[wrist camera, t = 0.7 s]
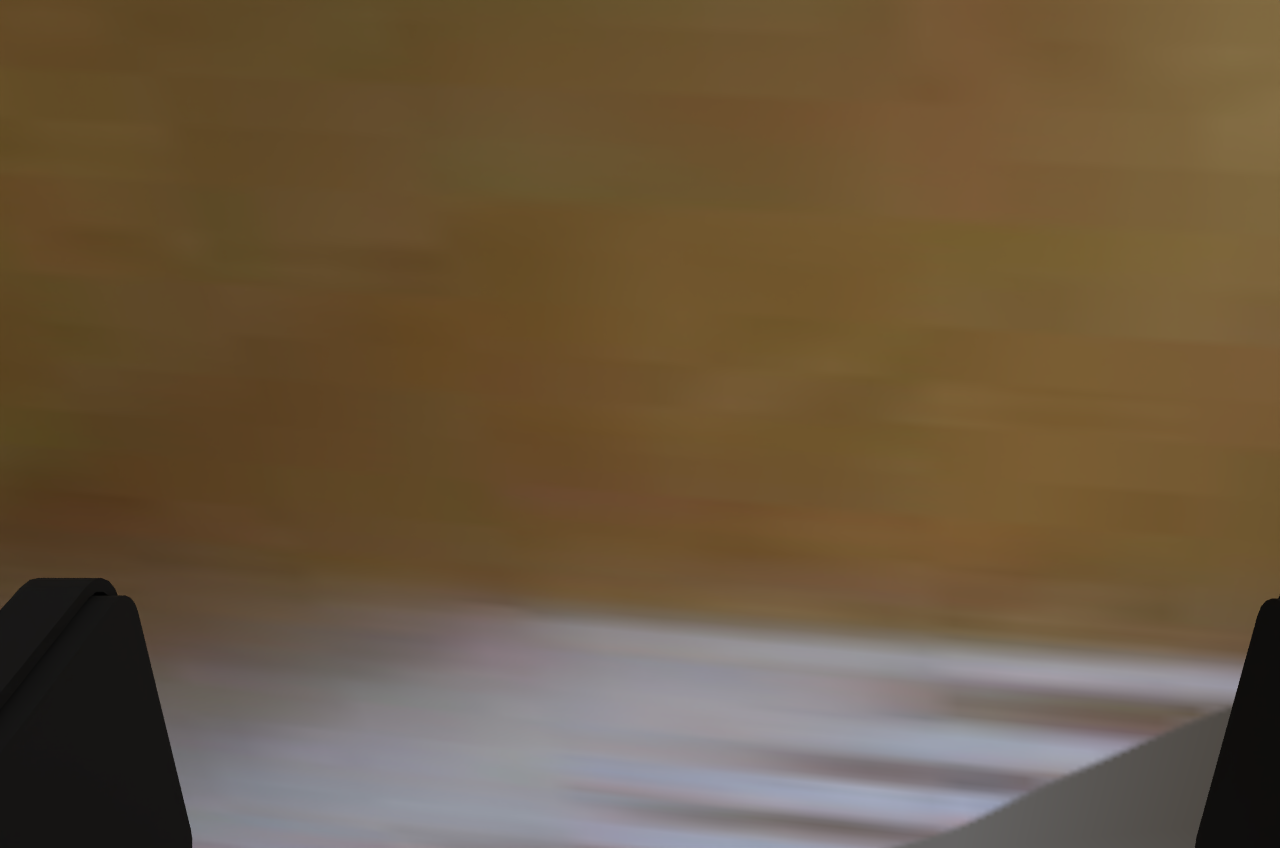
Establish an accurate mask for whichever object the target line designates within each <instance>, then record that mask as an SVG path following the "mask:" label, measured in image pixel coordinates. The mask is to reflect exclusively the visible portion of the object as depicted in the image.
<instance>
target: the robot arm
mask: <svg viewBox="0 0 1280 848" xmlns="http://www.w3.org/2000/svg"><path fill="white" fill-rule="evenodd" d="M0 848H192V834H191V828H190V824H189V820H188V816H187V812H186V808H185V804H184V800H183V795H182V791H181V787H180V783H179V779H178V775H177V771H176V767H175V762H174V758H173V754H172V750H171V746H170V742H169V738H168V734H167V730H166V725H165V721H164V717H163V713H162V709H161V705H160V701H159V697H158V692H157V688H156V684H155V680H154V676H153V672H152V668H151V664H150V659H149V655H148V651H147V647H146V643H145V639H144V635H143V631H142V626H141V622H140V618H139V614H138V611H137V608H136V605H135V603H134V602H133V600H132V599H131V598H130V597H127V596H118V595H117V593H116V590H115V588H114V587H113V586H112V584H111V583H110V582H109V581H107V580H105V579H103V578H37V579H32V580H29V581H28V582H27V583H25V584H24V585H23V586H22V587H21V588H20V589H19V590H18V591H17V592H16V593H15V594H14V595H13V597H12V598H11V599H10V600H9V601H8V602H7V603H6V604H5V605H4V607H3V608H2V609H1V610H0ZM1195 848H1280V596H1279V598H1278V599H1270V600H1267V601H1266V602H1265V603H1264V604H1263V605H1262V606H1261V608H1260V611H1259V613H1258V616H1257V619H1256V623H1255V627H1254V630H1253V634H1252V637H1251V641H1250V645H1249V648H1248V652H1247V656H1246V659H1245V663H1244V667H1243V670H1242V674H1241V677H1240V681H1239V685H1238V688H1237V692H1236V696H1235V699H1234V703H1233V707H1232V710H1231V714H1230V718H1229V721H1228V725H1227V728H1226V732H1225V736H1224V739H1223V743H1222V747H1221V750H1220V754H1219V757H1218V761H1217V765H1216V769H1215V772H1214V776H1213V779H1212V783H1211V787H1210V791H1209V794H1208V797H1207V801H1206V805H1205V808H1204V812H1203V816H1202V819H1201V823H1200V827H1199V830H1198V834H1197V838H1196V844H1195Z"/></svg>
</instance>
